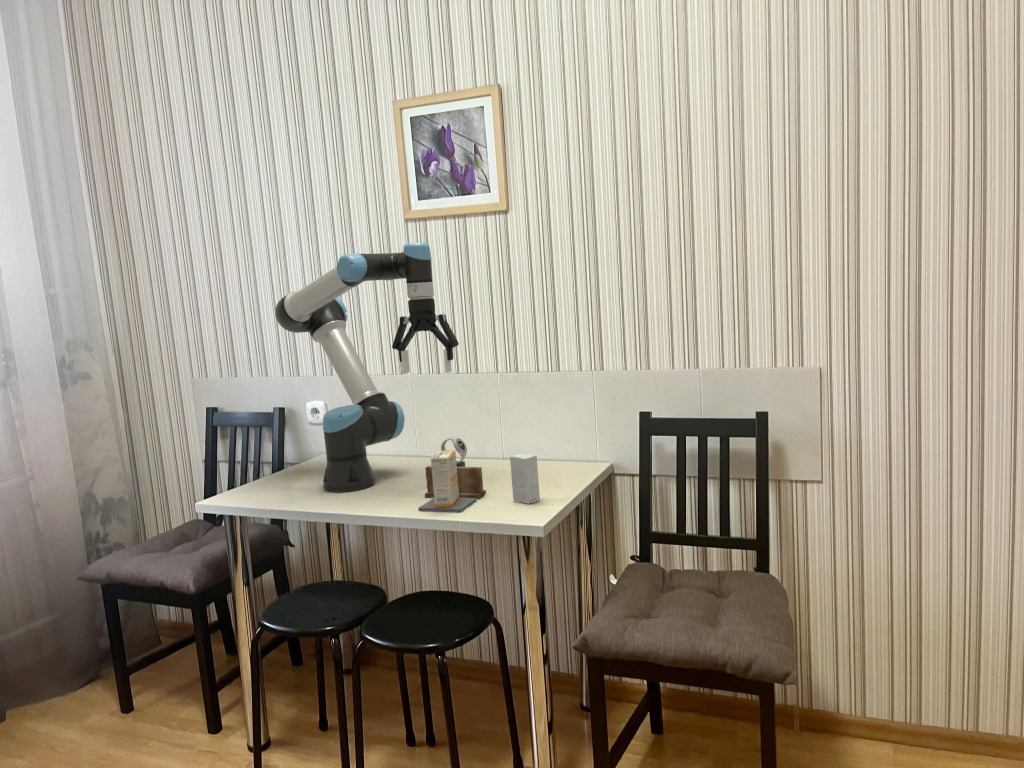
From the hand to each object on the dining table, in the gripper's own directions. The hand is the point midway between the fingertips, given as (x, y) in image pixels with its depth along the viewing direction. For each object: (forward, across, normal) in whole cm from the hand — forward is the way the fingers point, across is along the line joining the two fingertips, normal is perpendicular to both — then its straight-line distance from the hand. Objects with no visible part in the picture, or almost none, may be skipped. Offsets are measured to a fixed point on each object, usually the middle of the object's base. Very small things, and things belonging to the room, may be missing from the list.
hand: (427, 372), depth 220 cm
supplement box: (+32, +14, -21) cm, 41 cm away
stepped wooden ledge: (+32, +12, -12) cm, 37 cm away
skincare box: (+33, +33, -14) cm, 49 cm away
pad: (+32, +14, -21) cm, 41 cm away
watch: (+33, +1, +11) cm, 35 cm away
